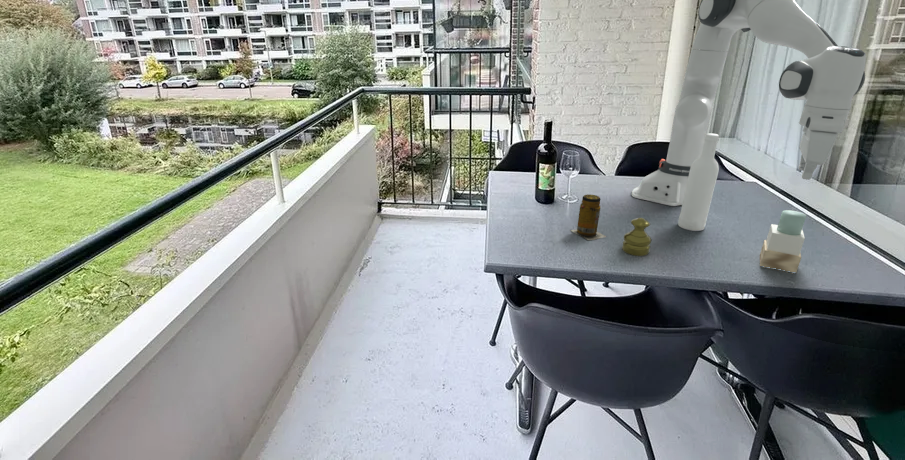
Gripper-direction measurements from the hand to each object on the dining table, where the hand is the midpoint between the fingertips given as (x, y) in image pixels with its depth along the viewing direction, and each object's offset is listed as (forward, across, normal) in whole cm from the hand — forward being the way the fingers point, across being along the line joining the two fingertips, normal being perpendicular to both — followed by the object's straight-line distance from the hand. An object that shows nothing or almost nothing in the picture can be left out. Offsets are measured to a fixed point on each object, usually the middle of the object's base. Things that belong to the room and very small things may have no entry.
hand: (803, 174), depth 116 cm
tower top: (+20, +1, +1) cm, 20 cm away
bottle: (+26, -16, -22) cm, 37 cm away
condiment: (+26, +8, -49) cm, 56 cm away
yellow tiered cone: (+26, +13, -34) cm, 45 cm away
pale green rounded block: (+15, +1, +1) cm, 15 cm away
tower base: (+25, +1, +1) cm, 25 cm away
